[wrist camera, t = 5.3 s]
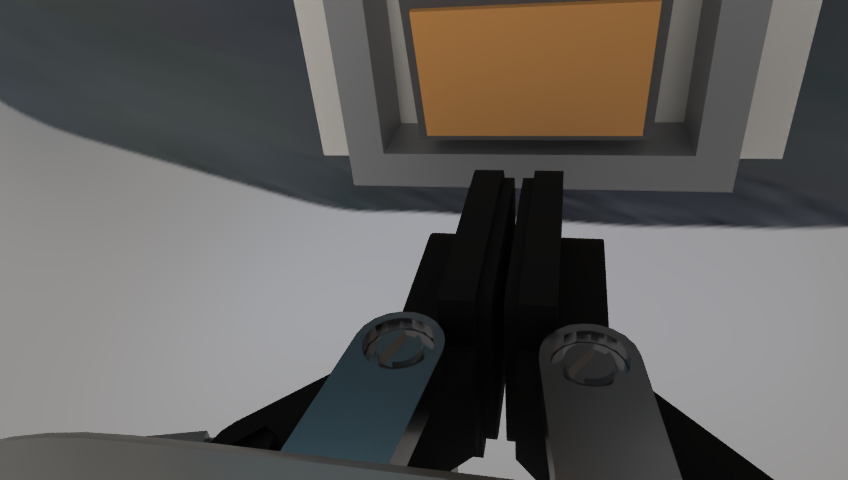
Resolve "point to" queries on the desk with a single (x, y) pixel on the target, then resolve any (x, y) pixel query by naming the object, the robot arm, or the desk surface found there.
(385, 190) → the desk surface
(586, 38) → the rocker
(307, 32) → the switch panel
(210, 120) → the desk surface
